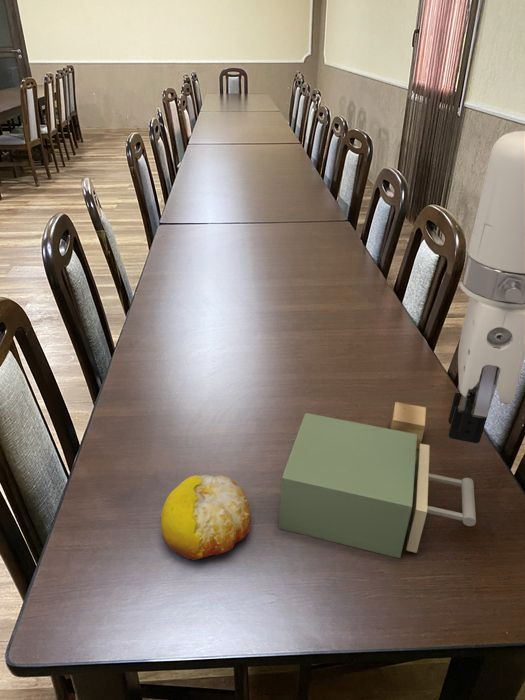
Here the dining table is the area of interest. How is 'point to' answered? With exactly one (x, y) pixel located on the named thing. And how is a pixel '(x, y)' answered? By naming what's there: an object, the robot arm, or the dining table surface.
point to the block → (409, 420)
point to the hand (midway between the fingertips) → (463, 431)
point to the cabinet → (349, 484)
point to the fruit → (205, 516)
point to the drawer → (421, 499)
